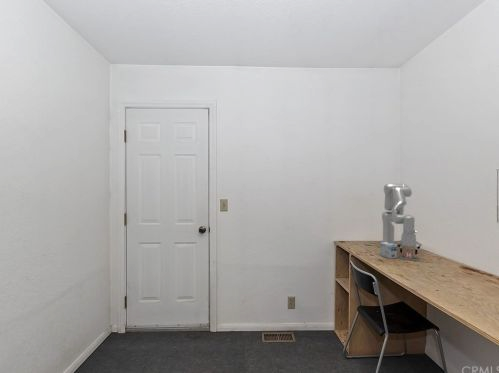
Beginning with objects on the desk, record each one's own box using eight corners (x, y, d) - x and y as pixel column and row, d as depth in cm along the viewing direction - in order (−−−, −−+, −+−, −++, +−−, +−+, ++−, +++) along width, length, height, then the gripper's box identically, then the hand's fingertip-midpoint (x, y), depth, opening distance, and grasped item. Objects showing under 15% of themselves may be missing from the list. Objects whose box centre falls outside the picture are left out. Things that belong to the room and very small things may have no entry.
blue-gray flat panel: (399, 255, 221) (399, 255, 221) (416, 257, 215) (416, 256, 215) (400, 259, 210) (400, 258, 210) (418, 261, 205) (418, 260, 205)
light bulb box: (397, 258, 214) (397, 244, 214) (391, 259, 211) (391, 245, 211) (386, 254, 224) (386, 241, 223) (379, 255, 221) (379, 242, 221)
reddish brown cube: (404, 256, 217) (404, 249, 216) (412, 257, 214) (412, 250, 214) (404, 258, 212) (404, 251, 212) (413, 259, 209) (413, 252, 209)
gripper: (421, 232, 212) (421, 254, 212) (396, 230, 220) (395, 251, 220) (422, 233, 205) (422, 256, 206) (396, 231, 213) (396, 253, 214)
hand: (408, 253), depth 213 cm, fingers open, 9 cm apart
